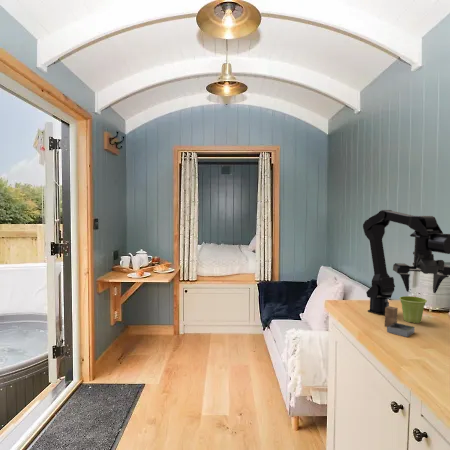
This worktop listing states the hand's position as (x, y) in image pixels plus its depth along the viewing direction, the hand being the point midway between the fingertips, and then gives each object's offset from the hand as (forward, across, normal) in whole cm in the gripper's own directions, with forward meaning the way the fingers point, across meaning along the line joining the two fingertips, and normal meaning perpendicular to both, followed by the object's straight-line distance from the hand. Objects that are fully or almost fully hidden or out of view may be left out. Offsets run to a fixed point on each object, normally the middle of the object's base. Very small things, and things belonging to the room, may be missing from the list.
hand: (420, 292), depth 131 cm
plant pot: (+13, 0, +8) cm, 15 cm away
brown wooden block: (+13, -10, -1) cm, 17 cm away
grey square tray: (+13, -9, -7) cm, 17 cm away
